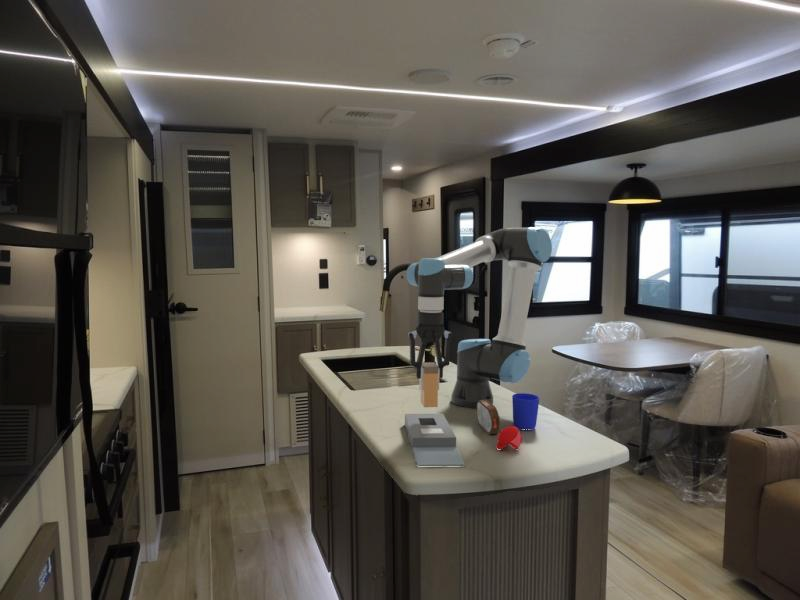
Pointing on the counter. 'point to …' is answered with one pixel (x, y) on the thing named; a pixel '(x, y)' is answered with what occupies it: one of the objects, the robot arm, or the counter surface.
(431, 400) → the plug
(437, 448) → the mat
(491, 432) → the tin
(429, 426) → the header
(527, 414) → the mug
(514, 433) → the cap
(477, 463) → the counter surface
